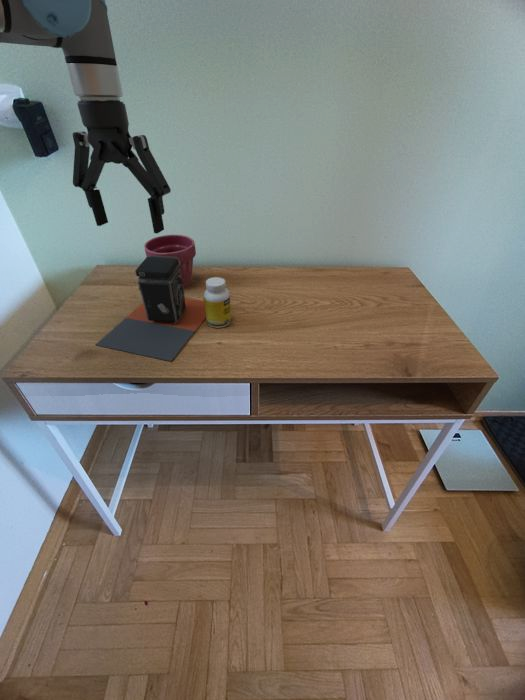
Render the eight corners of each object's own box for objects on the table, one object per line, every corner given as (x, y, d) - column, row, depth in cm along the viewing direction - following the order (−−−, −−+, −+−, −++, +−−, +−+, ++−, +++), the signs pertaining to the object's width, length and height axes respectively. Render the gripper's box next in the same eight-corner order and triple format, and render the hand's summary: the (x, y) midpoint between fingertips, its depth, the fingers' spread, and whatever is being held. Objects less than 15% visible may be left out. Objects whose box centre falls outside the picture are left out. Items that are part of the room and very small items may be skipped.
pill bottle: (222, 331, 80) (219, 290, 73) (201, 324, 83) (196, 284, 75) (236, 318, 85) (234, 279, 78) (215, 312, 87) (211, 273, 80)
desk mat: (95, 345, 75) (95, 344, 75) (154, 293, 95) (154, 292, 95) (171, 362, 71) (171, 361, 71) (216, 304, 91) (216, 303, 90)
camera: (193, 305, 89) (185, 253, 80) (182, 326, 81) (172, 271, 72) (157, 302, 90) (145, 251, 81) (143, 323, 82) (128, 269, 73)
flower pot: (177, 298, 93) (169, 256, 84) (143, 286, 98) (133, 245, 90) (208, 279, 102) (204, 240, 94) (175, 269, 108) (169, 231, 100)
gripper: (178, 101, 54) (192, 228, 67) (56, 97, 59) (92, 216, 72) (154, 101, 48) (175, 240, 62) (22, 97, 53) (67, 226, 67)
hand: (130, 227), depth 67 cm, fingers open, 13 cm apart
